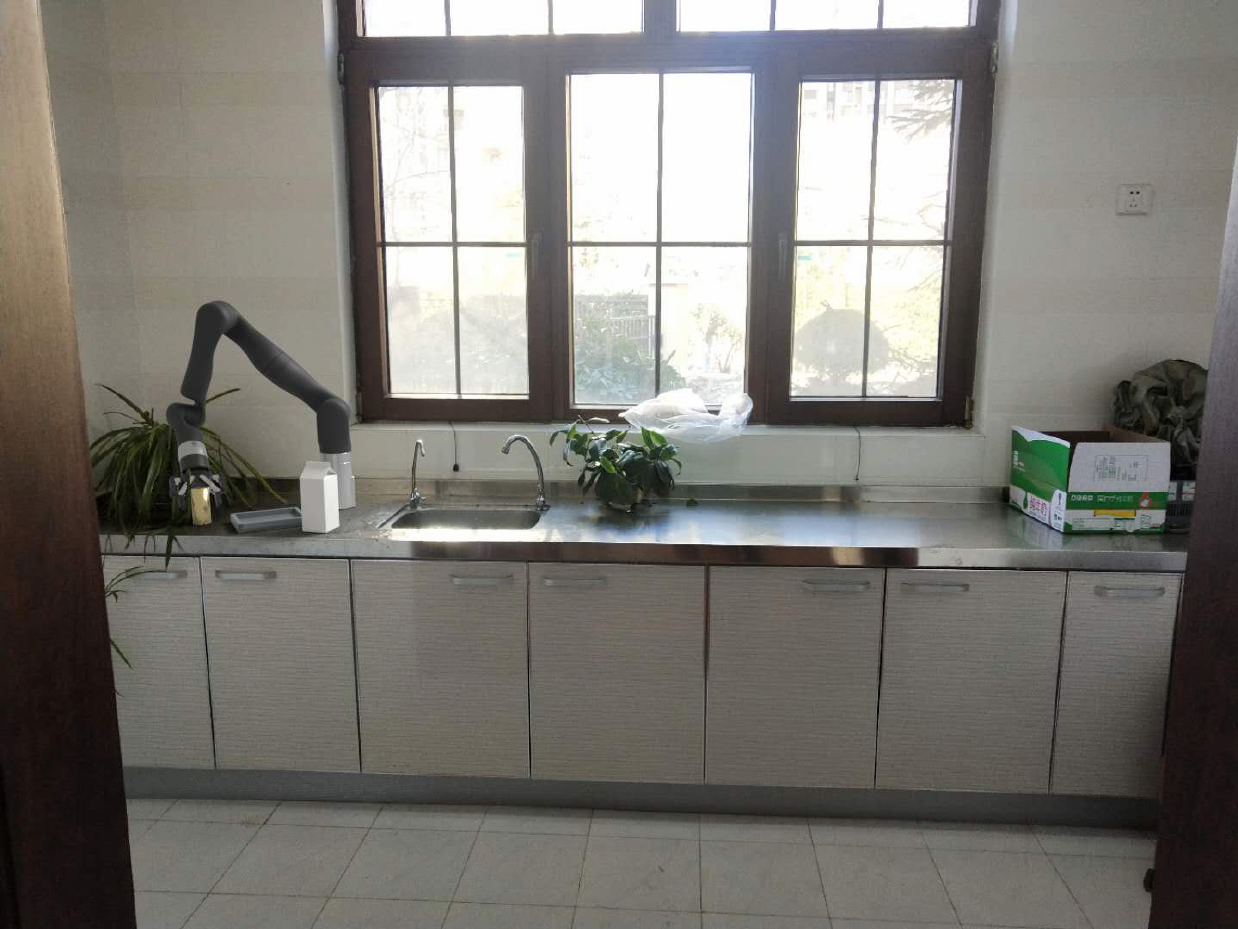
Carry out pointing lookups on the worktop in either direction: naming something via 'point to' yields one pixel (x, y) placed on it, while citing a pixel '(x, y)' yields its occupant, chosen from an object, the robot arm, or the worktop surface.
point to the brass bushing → (200, 505)
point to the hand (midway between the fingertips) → (201, 507)
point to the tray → (267, 519)
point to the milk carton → (319, 497)
